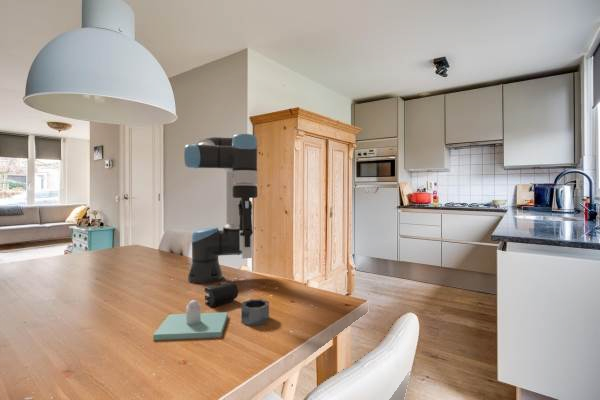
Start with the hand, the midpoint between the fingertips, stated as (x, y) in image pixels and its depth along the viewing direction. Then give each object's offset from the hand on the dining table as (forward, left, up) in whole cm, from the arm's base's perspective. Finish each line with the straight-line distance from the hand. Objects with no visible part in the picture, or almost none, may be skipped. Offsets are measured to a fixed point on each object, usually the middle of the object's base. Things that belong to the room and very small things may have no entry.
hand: (245, 254), depth 96 cm
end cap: (-17, -10, -21) cm, 29 cm away
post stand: (+3, -15, -21) cm, 26 cm away
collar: (-1, +3, -21) cm, 21 cm away
